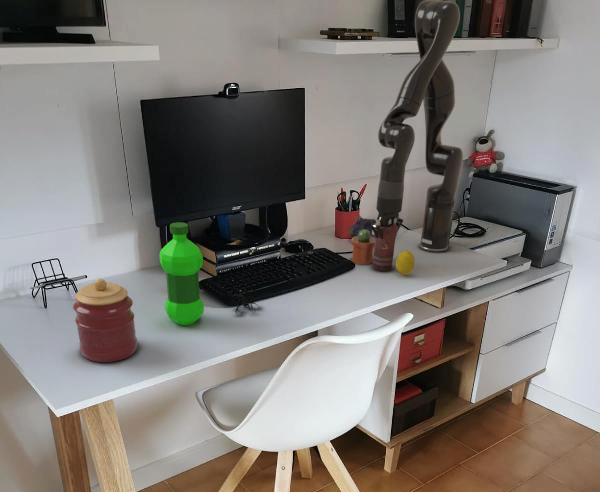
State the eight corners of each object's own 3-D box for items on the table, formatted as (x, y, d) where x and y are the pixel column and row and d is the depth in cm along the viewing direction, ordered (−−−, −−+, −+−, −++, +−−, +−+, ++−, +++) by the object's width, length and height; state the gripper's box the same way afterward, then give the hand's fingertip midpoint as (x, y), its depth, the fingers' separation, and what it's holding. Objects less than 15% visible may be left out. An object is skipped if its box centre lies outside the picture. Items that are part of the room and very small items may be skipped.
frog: (340, 238, 231) (341, 216, 227) (365, 232, 237) (366, 211, 233) (359, 245, 224) (361, 223, 220) (384, 239, 231) (386, 217, 227)
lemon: (415, 274, 202) (418, 249, 198) (409, 280, 198) (413, 254, 194) (397, 271, 204) (400, 246, 200) (392, 276, 200) (395, 251, 196)
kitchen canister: (73, 362, 148) (61, 289, 139) (89, 337, 159) (78, 268, 150) (131, 364, 148) (122, 291, 139) (142, 338, 159) (135, 269, 150)
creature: (264, 314, 176) (245, 299, 180) (267, 297, 173) (248, 282, 177) (242, 322, 172) (223, 307, 175) (245, 305, 168) (225, 290, 172)
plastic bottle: (157, 318, 169) (149, 223, 156) (193, 309, 175) (188, 216, 162) (176, 333, 163) (169, 234, 150) (213, 323, 168) (209, 226, 155)
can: (393, 272, 203) (399, 227, 196) (372, 271, 203) (378, 226, 196) (391, 265, 208) (396, 221, 201) (371, 264, 208) (376, 220, 201)
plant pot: (361, 255, 216) (363, 224, 211) (379, 261, 212) (382, 230, 206) (345, 260, 212) (347, 229, 206) (363, 266, 207) (366, 235, 201)
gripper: (385, 201, 188) (380, 259, 197) (414, 194, 196) (407, 250, 205) (366, 195, 193) (361, 252, 202) (394, 189, 201) (388, 244, 210)
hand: (384, 251), depth 203 cm, fingers closed
